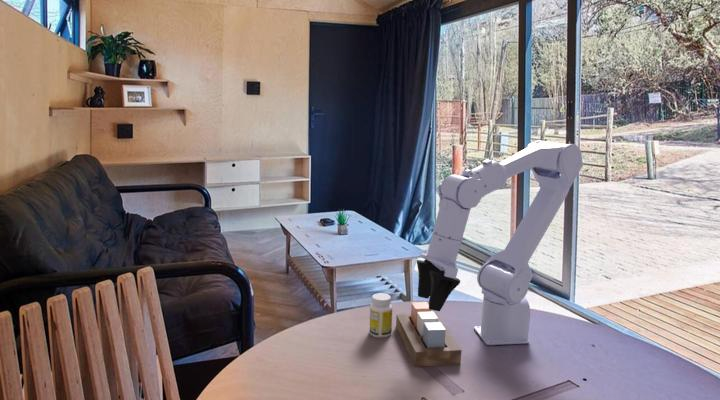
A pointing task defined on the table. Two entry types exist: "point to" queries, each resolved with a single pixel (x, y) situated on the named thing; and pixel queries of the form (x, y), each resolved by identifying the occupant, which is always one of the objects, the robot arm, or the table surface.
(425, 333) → the blue key
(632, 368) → the table surface
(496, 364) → the table surface
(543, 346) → the table surface
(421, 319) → the white key
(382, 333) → the supplement bottle
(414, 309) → the red key
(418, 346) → the key block
